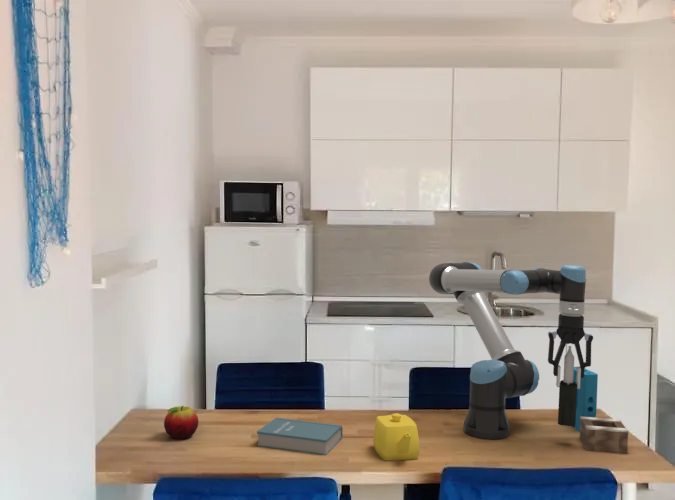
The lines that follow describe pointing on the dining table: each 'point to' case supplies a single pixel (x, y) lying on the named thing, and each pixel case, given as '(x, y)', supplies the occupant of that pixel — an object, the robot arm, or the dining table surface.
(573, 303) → the robot arm
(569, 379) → the grey and black rod
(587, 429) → the holder
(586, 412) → the block
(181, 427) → the fruit
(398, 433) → the teapot
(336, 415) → the dining table surface
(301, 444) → the book
